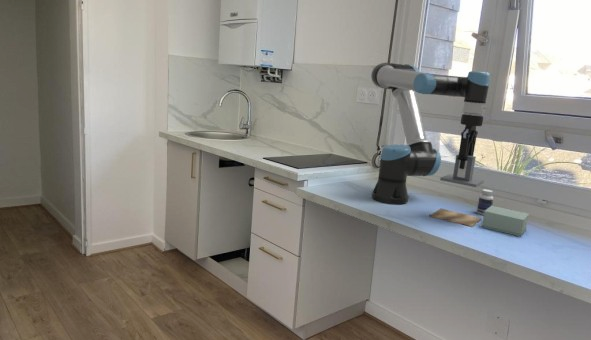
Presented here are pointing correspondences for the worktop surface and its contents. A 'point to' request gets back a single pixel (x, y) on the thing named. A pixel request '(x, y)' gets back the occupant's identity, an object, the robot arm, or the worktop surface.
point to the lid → (468, 176)
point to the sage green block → (505, 220)
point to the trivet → (456, 217)
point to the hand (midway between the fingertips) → (462, 176)
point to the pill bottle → (484, 201)
